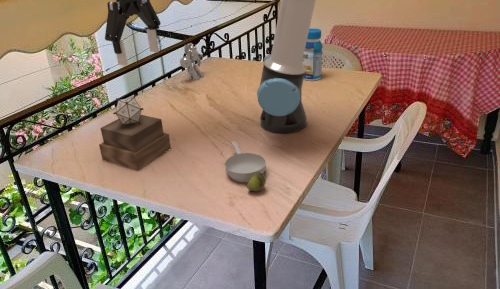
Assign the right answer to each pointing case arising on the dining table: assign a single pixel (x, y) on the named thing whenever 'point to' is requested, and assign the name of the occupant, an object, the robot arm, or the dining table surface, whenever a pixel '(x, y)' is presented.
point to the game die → (128, 111)
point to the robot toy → (191, 57)
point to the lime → (256, 182)
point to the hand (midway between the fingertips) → (139, 58)
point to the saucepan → (244, 165)
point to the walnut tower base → (137, 156)
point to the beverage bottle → (313, 56)
